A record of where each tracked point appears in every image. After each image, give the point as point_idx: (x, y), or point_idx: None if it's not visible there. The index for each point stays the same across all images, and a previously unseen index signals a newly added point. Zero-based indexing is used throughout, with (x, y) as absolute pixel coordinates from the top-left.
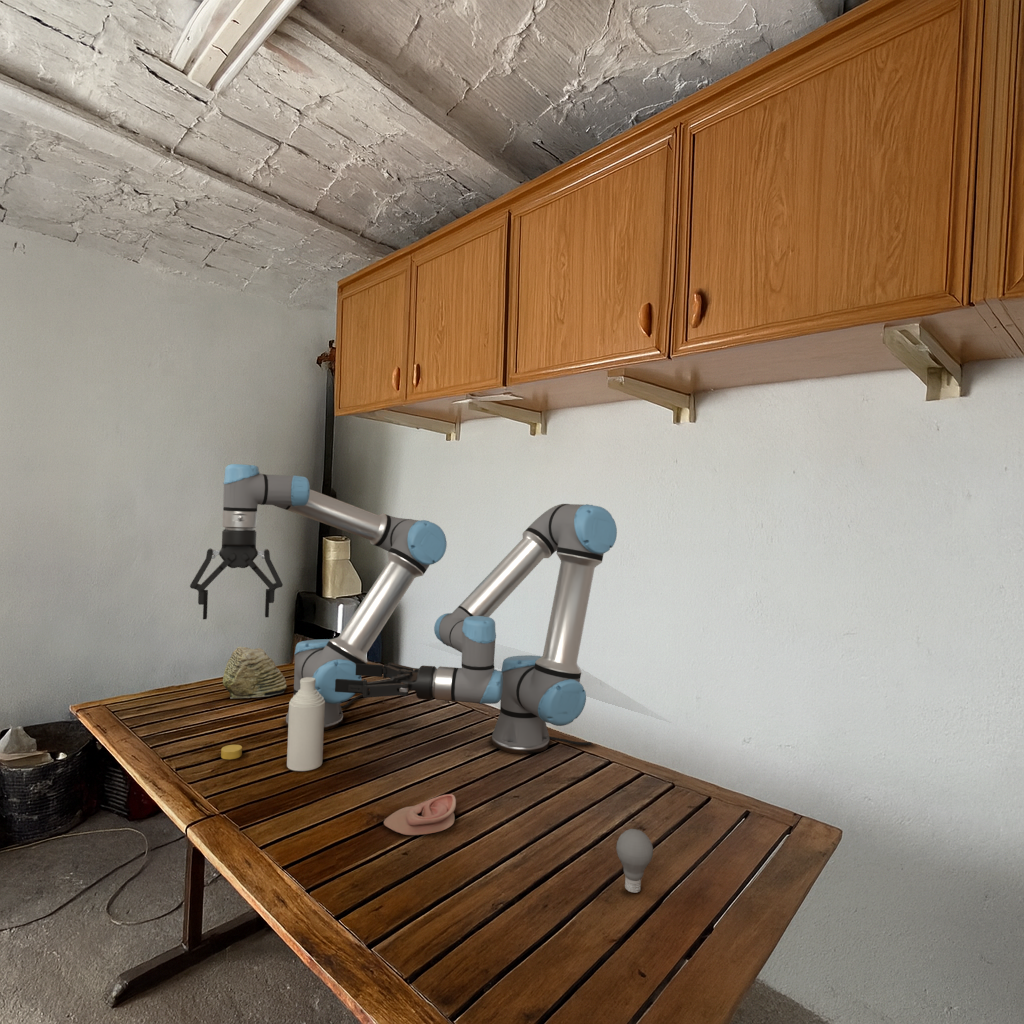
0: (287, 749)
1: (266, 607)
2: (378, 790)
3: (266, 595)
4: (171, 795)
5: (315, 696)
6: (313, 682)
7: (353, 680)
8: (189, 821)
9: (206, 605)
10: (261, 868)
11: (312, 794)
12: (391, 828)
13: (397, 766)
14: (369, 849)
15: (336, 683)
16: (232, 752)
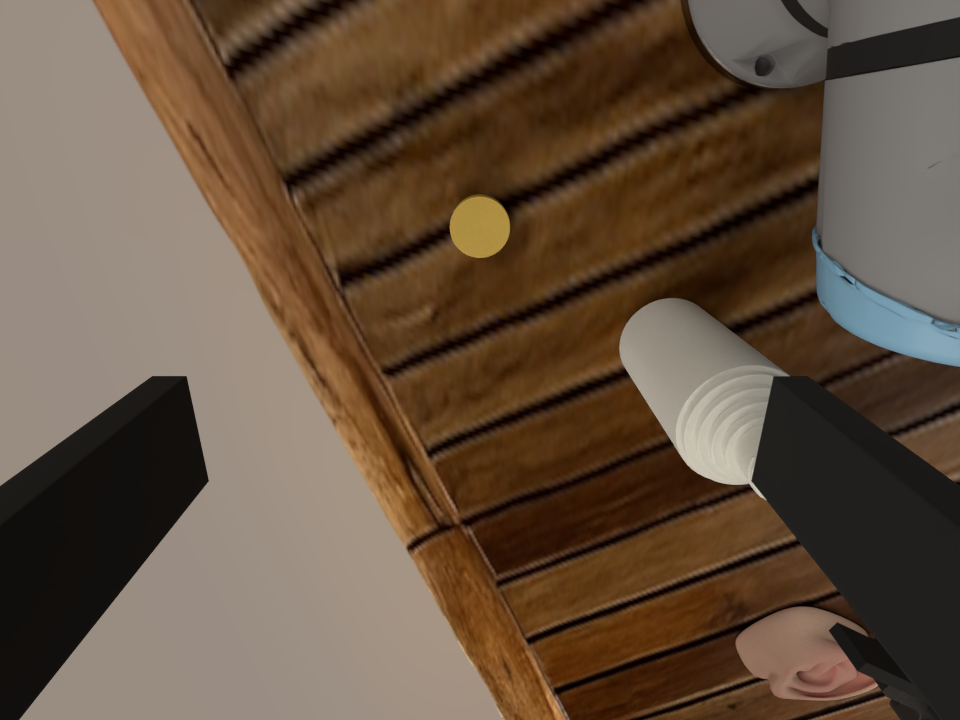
0: (631, 360)
1: (816, 548)
2: (781, 522)
3: (920, 684)
4: (355, 423)
5: None
6: None
7: (916, 692)
8: (407, 536)
9: (122, 582)
10: (524, 685)
11: (645, 501)
12: (741, 657)
13: (879, 424)
14: (686, 685)
15: (851, 660)
16: (482, 257)
